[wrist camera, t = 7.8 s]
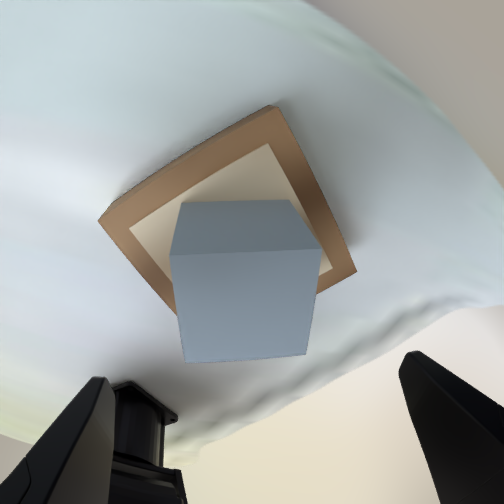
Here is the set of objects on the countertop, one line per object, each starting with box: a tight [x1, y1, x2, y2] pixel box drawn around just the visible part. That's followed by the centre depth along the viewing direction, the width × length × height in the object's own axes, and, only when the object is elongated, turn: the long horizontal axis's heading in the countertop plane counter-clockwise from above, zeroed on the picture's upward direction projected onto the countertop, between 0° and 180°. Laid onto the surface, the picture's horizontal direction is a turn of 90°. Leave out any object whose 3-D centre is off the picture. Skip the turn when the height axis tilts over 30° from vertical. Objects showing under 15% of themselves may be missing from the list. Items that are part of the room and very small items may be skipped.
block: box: [169, 200, 322, 363], centre depth 14 cm, size 5×5×5 cm
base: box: [98, 105, 357, 315], centre depth 17 cm, size 10×10×3 cm
